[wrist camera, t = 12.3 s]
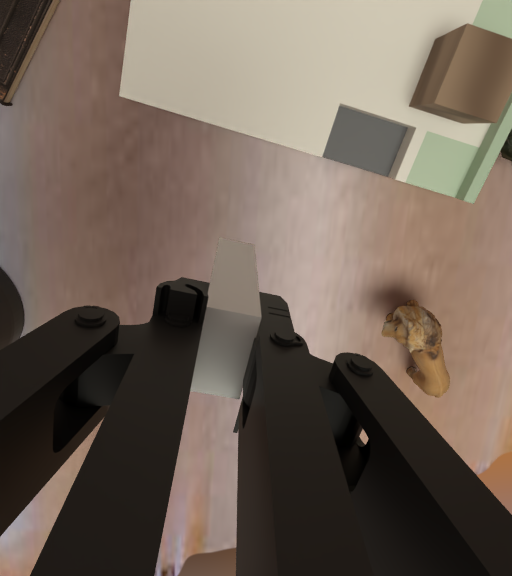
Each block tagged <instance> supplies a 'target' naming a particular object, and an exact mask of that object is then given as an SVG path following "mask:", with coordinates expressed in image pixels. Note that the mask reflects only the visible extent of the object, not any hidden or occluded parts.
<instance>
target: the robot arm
mask: <svg viewBox="0 0 512 576" xmlns="http://www.w3.org/2000/svg"><path fill="white" fill-rule="evenodd" d="M290 317H291V316H290V312H289V308H288V304H287V303H286V302H285V301H284V300H283V299H282V298H281V297H280V296H277V295H272V294H267V293H262V292H259V286H258V276H257V265H256V255H255V245H253V244H249V243H244V242H240V241H235V240H230V239H226V238H221V237H219V242H218V247H217V252H216V256H215V261H214V266H213V271H212V275H211V280H210V283H207V282H202V281H197V280H192V279H187V278H182V277H181V278H180V279H178V280H176V281H167V282H163V283H160V284H159V285H158V286H157V288H156V295H155V302H154V309H153V315H152V318H151V320H150V322H148V323H145V324H140V325H119V324H120V321H119V317H118V316H117V315H116V314H115V313H114V312H113V311H110V310H108V309H106V308H101V307H98V306H83V307H76V308H72V309H70V310H67V311H65V312H63V313H62V314H60V315H58V316H57V317H55V318H53V319H52V320H50V321H48V322H47V323H45V324H43V325H42V326H40V327H38V328H36V329H35V330H33V331H31V332H30V333H28V334H26V335H25V336H23V337H21V338H20V339H19V337H20V335H21V332H22V329H23V324H24V313H23V307H22V303H21V300H20V297H19V295H18V293H17V291H16V289H15V287H14V285H13V284H12V282H11V281H10V279H9V278H8V277H7V276H6V274H5V273H4V272H3V271H2V270H1V269H0V536H1V535H2V534H3V533H4V532H5V530H6V529H7V528H8V527H9V526H10V525H11V523H12V522H13V521H14V520H15V519H16V518H17V517H18V515H19V514H20V513H21V512H22V511H23V510H24V509H25V507H26V506H27V505H28V504H29V503H30V502H31V501H32V499H33V498H34V497H35V496H36V495H37V494H38V493H39V491H40V490H41V489H42V488H43V487H44V486H45V484H46V483H47V482H48V481H49V480H50V479H51V478H52V476H53V475H54V474H55V473H56V472H57V471H58V470H59V468H60V467H61V466H62V465H63V464H64V463H65V462H66V460H67V459H68V458H69V457H70V456H71V455H72V453H73V452H74V451H75V450H76V449H77V448H78V447H79V445H80V444H81V443H82V442H83V441H84V440H85V439H86V437H87V436H88V435H89V434H90V433H91V432H92V431H93V429H94V428H95V427H96V426H97V425H98V424H99V422H100V421H101V420H102V419H103V418H104V420H103V422H102V424H101V426H100V428H99V430H98V432H97V434H96V437H95V439H94V441H93V443H92V445H91V447H90V449H89V451H88V454H87V456H86V458H85V460H84V462H83V464H82V466H81V468H80V471H79V473H78V475H77V477H76V479H75V481H74V483H73V485H72V488H71V490H70V492H69V494H68V496H67V498H66V500H65V502H64V505H63V507H62V509H61V511H60V513H59V515H58V517H57V519H56V522H55V524H54V526H53V528H52V530H51V532H50V534H49V536H48V539H47V541H46V543H45V545H44V547H43V549H42V551H41V553H40V556H39V558H38V560H37V562H36V564H35V566H34V568H33V570H32V573H31V575H30V576H154V574H155V568H156V563H157V558H158V553H159V548H160V543H161V538H162V533H163V527H164V522H165V517H166V512H167V507H168V502H169V497H170V491H171V486H172V481H173V476H174V471H175V466H176V461H177V456H178V450H179V445H180V440H181V435H182V430H183V425H184V420H185V414H186V409H187V404H188V399H189V394H190V391H193V392H199V393H205V394H211V395H217V396H223V397H229V398H235V399H240V395H241V392H242V388H243V398H242V402H241V405H240V409H239V413H238V416H237V420H236V424H235V427H234V431H233V432H235V433H237V432H238V429H239V434H238V490H237V547H236V576H512V515H511V514H510V513H509V511H508V510H507V509H506V508H505V507H504V506H503V505H502V504H501V502H500V501H499V500H498V499H497V498H496V497H495V496H494V495H493V493H492V492H491V491H490V490H489V489H488V488H487V487H486V486H485V484H484V483H483V482H482V481H481V480H480V479H479V478H478V477H477V475H476V474H475V473H474V472H473V471H472V470H471V469H470V468H469V466H468V465H467V464H466V463H465V462H464V461H463V460H462V459H461V457H460V456H459V455H458V454H457V453H456V452H455V451H454V450H453V448H452V447H451V446H450V445H449V444H448V443H447V442H446V441H445V439H444V438H443V437H442V436H441V435H440V434H439V433H438V432H437V430H436V429H435V428H434V427H433V426H432V425H431V424H430V423H429V421H428V420H427V419H426V418H425V417H424V416H423V415H422V414H421V413H420V411H419V410H418V409H417V408H416V407H415V406H414V405H413V404H412V402H411V401H410V400H409V399H408V398H407V397H406V396H405V395H404V393H403V392H402V391H401V390H400V389H399V388H398V387H397V386H396V384H395V383H394V382H393V381H392V380H391V379H390V378H389V377H388V375H387V374H386V373H385V372H384V371H383V370H382V369H381V368H380V367H379V366H378V365H377V364H376V363H375V362H373V361H371V360H370V359H368V358H367V357H365V356H363V355H362V356H361V355H360V354H356V353H355V354H354V353H348V352H347V353H340V354H338V355H337V356H336V357H335V360H334V363H330V362H327V361H325V360H322V359H319V358H317V357H315V356H313V355H311V354H310V353H309V350H308V346H307V343H306V342H305V340H304V339H303V338H302V337H301V336H300V335H298V334H297V333H295V332H294V328H293V324H292V320H291V318H290ZM362 429H363V430H364V431H365V433H366V434H367V436H368V438H369V439H368V442H367V443H366V445H365V444H364V443H363V442H362V440H361V439H360V437H359V436H360V433H361V431H362Z"/></svg>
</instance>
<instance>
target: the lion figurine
mask: <svg viewBox="0 0 512 576" xmlns="http://www.w3.org/2000/svg"><path fill="white" fill-rule="evenodd" d="M382 336H383V337H394V338H395V339H396V340H397V341H398V342H399V343H402V344H403V346H405V347H406V348H407V349H409V351H410V353H411V355H412V357H413V359H414V361H415V363H416V364H417V366H418V367H419V369H420V371H418V372H417V370H416V369H415V368H414V367H410V368H409V369H408V370H407V374H408V375H409V376H410V377H411V378H412V379H413V382H414V383H415V384H416V385H418V387H419V388H420V389H422V390H423V391H424V392H425V393H426V394H427V395H429V396H435V397H437V398H439V397H441V396H442V395H443V394H444V393H445V392H446V391H447V390H448V388H449V384H450V377H449V374H448V372H447V370H446V367H445V362H444V356H443V350H442V347H441V341H442V340H441V337H442V330H441V325H440V324H439V322H438V320H437V319H436V318H435V316H434V315H433V314H432V313H431V312H429V311H428V310H426V309H425V308H424V307H418V302H417V301H415V300H410V301H409V302H407V306H400V307H398V308H397V309H396V311H395V312H394V313H391V314H389V315H388V316H387V319H386V321H385V322H384V325H383V330H382Z"/></svg>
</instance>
